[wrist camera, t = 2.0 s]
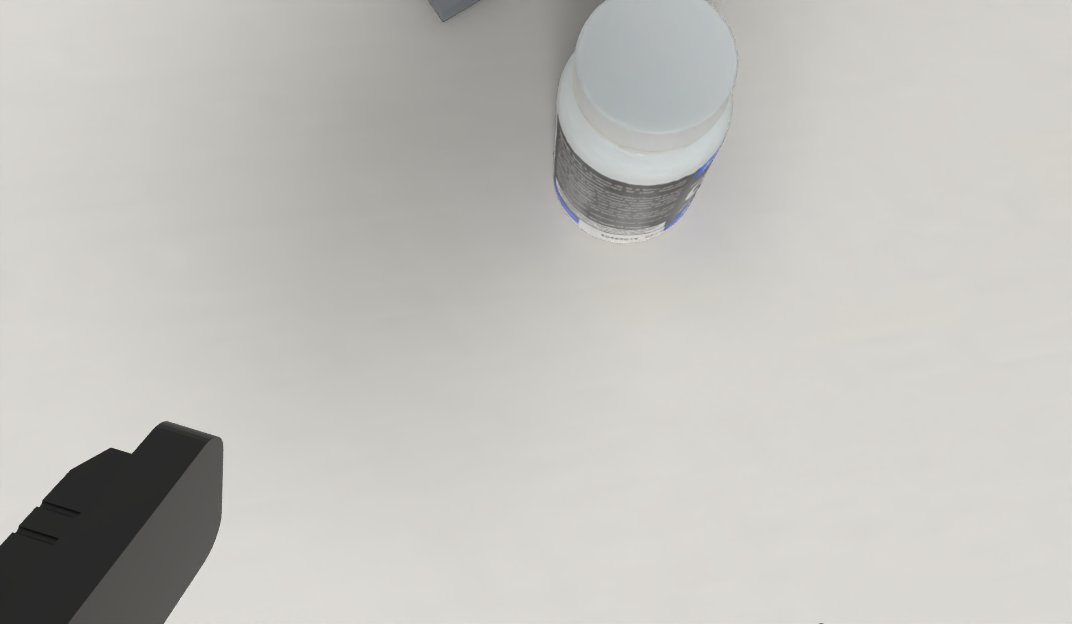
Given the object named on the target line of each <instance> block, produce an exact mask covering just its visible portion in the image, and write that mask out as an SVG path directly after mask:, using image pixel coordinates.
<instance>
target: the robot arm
mask: <svg viewBox="0 0 1072 624" xmlns="http://www.w3.org/2000/svg"><path fill="white" fill-rule="evenodd" d="M222 479H223V442H222V439H221V438H220V437H217V436H214V435H211V434H207V433H204V432H201V431H198V430H194V429H191V428H188V427H184V426H181V425H178V424H175V423H171V422H168V421H165V422H162V423H160V424H159V425H157V426H156V427H155V428H154V429H153V430H152V431H151V432H150V434H149V435H148V436H147V437H146V438H145V439H144V441H143V442H142V443H141V444H140V445H139V446H138V447H137V449H136V450H135V451H134V452H133V453H132V454H130V453H127V452H124V451H120V450H117V449H114V448H109V449H107V450H106V451H104V452H102V453H100V454H98V455H97V456H95V457H93V458H91V459H89V460H87V461H86V462H84V463H82V464H80V465H78V466H77V467H75V468H73V469H71V470H70V471H69V472H68V473H67V474H66V476H65V477H64V478H63V479H62V480H61V481H60V482H59V483H58V484H57V485H56V486H55V487H54V488H53V490H52V491H51V492H50V493H49V494H48V495H47V496H46V497H45V498H44V499H43V500H42V504H41V506H40V507H36V508H35V509H34V510H33V511H32V512H31V513H30V514H29V515H28V516H27V517H26V519H25V520H24V521H23V522H22V523H21V524H20V525H19V528H18V530H17V532H16V533H12V534H11V535H10V536H9V537H8V538H7V539H6V540H5V541H4V542H3V543H2V544H1V545H0V624H164V622H165V621H166V619H167V618H168V616H169V615H170V613H171V612H172V610H173V609H174V607H175V606H176V604H177V603H178V601H179V600H180V598H181V597H182V595H183V594H184V592H185V591H186V589H187V588H188V586H189V585H190V583H191V582H192V580H193V578H194V577H195V575H196V574H197V572H198V571H199V569H200V568H201V566H202V565H203V563H204V562H205V560H206V558H207V557H208V555H209V553H210V551H211V549H212V546H213V544H214V542H215V539H216V536H217V533H218V530H219V526H220V522H221V514H222ZM820 624H822V623H820Z"/></svg>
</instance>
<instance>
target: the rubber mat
mask: <svg viewBox="0 0 1072 624" xmlns="http://www.w3.org/2000/svg"><path fill="white" fill-rule="evenodd" d="M428 1H429V2H430V4H431V5H432V7H433V8H434V9H435V11H436V12H437V14H438V15H439V17H440V18H441V19H442V21H443V22H444V21H446V20H447V19H449V18H451V17H452V16H454V15H456V14H457V13H459V12H461V11H463V10H464V9H466V8H468V7H469V6H471V5H473V4H474V3H476V2H478V1H479V0H428Z"/></svg>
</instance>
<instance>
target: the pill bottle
mask: <svg viewBox="0 0 1072 624" xmlns="http://www.w3.org/2000/svg"><path fill="white" fill-rule="evenodd" d="M737 69H738V52H737V47H736V43H735V39H734V36H733V34H732V32H731V30H730V28H729V26H728V24H727V23H726V21H725V20H724V18H723V17H722V16H721V14H720V13H719V12H718V11H717V10H716V9H715V8H714V7H713V6H712V5H711V4H710V3H708V2H707V1H706V0H605V1H604V2H603V3H602V4H600V5H599V6H598V7H597V8H596V9H595V10H594V11H593V13H592V14H591V15H590V16H589V18H588V19H587V20H586V22H585V24H584V26H583V27H582V30H581V32H580V34H579V37H578V40H577V44H576V49H575V51H574V52H573V54H572V55H571V57H570V59H569V60H568V62H567V64H566V66H565V68H564V70H563V72H562V75H561V77H560V81H559V86H558V91H557V107H556V132H555V146H554V153H553V158H554V167H553V180H554V186H555V192H556V195H557V198H558V200H559V202H560V204H561V206H562V208H563V210H564V211H565V212H566V214H567V215H568V217H569V218H570V219H571V220H572V221H573V222H574V223H575V224H576V225H577V226H578V227H580V228H581V229H582V230H584V231H585V232H587V233H588V234H590V235H592V236H594V237H596V238H599V239H602V240H606V241H610V242H617V243H634V242H641V241H646V240H649V239H651V238H654V237H656V236H658V235H660V234H662V233H663V232H665V231H666V230H668V229H669V228H670V227H672V226H673V225H674V224H675V223H676V222H677V221H678V220H679V219H680V218H681V216H682V215H683V214H684V212H685V211H686V210H687V208H688V207H689V205H690V203H691V201H692V199H693V198H694V196H695V194H696V191H697V189H698V188H699V187H700V185H701V183H702V180H703V178H704V177H705V174H706V172H707V170H708V168H709V167H710V165H711V163H712V161H713V159H714V157H715V156H716V154H717V152H718V150H719V148H720V146H721V144H722V143H723V141H724V139H725V136H726V134H727V130H728V127H729V124H730V120H731V115H732V90H733V87H734V84H735V80H736V76H737Z"/></svg>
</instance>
